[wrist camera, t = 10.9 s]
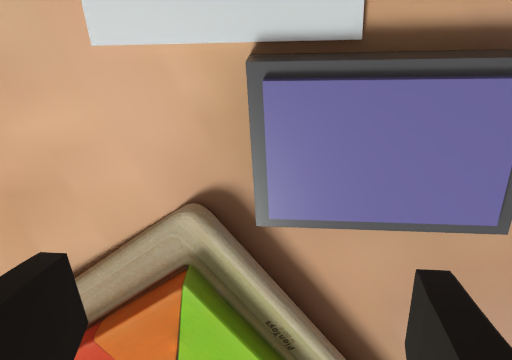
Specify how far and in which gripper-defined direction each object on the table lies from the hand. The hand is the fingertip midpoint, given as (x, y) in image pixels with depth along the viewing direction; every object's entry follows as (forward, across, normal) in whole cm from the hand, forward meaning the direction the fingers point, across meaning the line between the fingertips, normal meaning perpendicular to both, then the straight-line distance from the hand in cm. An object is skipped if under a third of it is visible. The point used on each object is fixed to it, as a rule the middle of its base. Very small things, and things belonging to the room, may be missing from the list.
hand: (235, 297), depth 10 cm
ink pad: (+10, -4, +1) cm, 11 cm away
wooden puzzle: (+11, +6, +16) cm, 20 cm away
